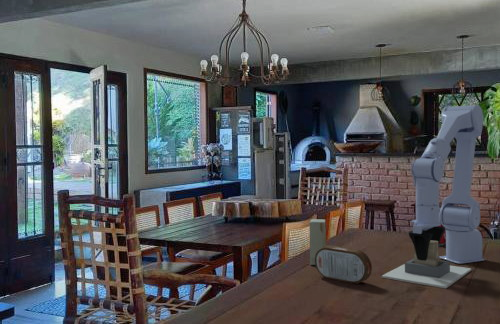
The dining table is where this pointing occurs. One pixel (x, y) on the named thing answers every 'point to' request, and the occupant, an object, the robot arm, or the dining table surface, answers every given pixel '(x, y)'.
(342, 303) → the dining table surface
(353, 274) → the tin
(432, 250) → the birch peg
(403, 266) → the peg socket
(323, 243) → the skincare box
